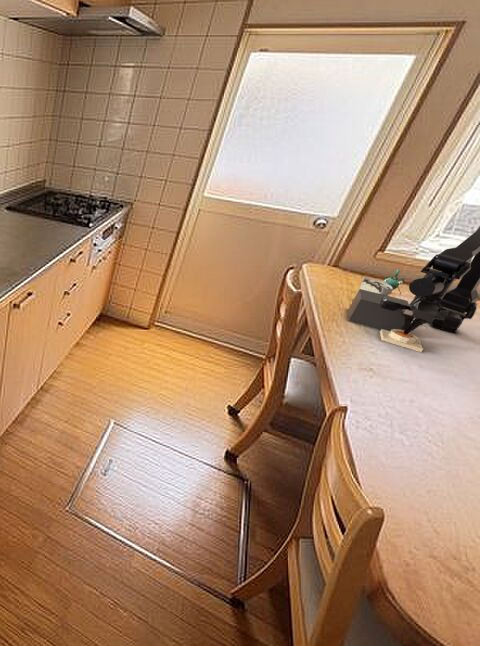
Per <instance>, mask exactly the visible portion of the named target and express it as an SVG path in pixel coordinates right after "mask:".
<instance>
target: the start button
mask: <svg viewBox="0 0 480 646" xmlns="http://www.w3.org/2000/svg"><path fill="white" fill-rule="evenodd" d="M397 333H398V334H400V335H402V336H406V337H412V335H411V334H412V333H411V334H409V333H408V334H404V333H403V331H398V332H397Z"/></svg>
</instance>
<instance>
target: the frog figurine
mask: <svg viewBox="0 0 480 646" xmlns="http://www.w3.org/2000/svg"><path fill="white" fill-rule="evenodd" d="M400 272H401V270H400V269H397V270H396V272H395V273H394V275H390V276H384V278H383V279H384V280H383V281H382V282H384V283H386V284H389V285H390V286H392V289H393V290H396V289H398V291H399V294H400V295H402V291H401V289H400V286H401V285H403V283H405V279H404V278H400V280H399V277H398V276H399V274H400ZM393 290H392V291H393ZM387 296H389V295H387Z"/></svg>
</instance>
